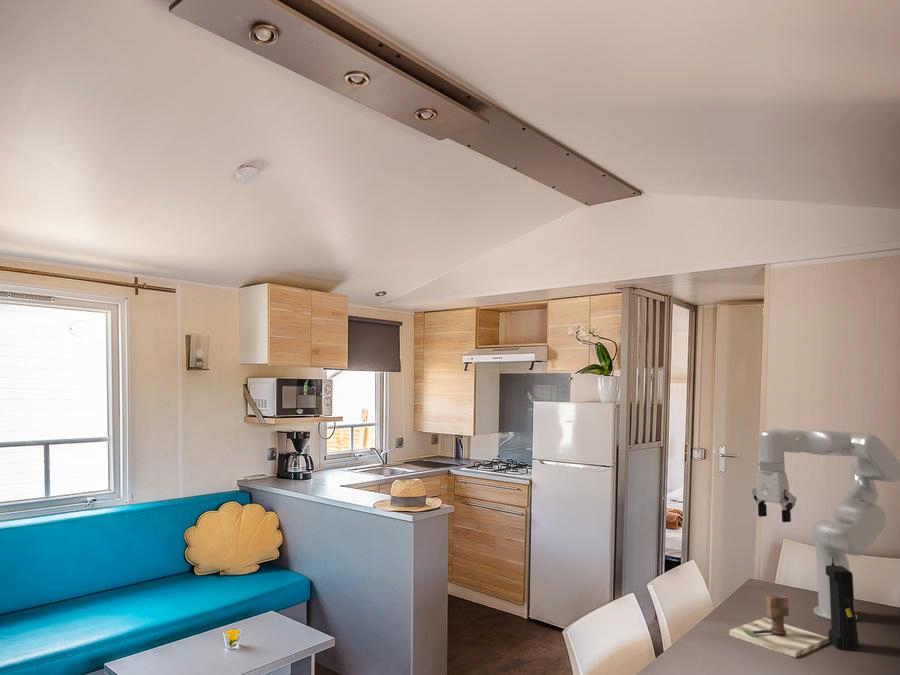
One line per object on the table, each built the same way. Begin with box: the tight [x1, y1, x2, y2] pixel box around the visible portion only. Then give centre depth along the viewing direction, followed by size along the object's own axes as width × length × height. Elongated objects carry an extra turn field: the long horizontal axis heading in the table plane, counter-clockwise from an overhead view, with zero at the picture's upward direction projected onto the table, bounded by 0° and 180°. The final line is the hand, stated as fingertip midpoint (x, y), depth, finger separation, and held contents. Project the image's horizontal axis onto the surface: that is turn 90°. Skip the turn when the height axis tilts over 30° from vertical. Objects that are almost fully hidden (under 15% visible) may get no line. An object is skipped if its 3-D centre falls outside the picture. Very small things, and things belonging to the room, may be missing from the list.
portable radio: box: [826, 559, 860, 652], centre depth 185 cm, size 8×6×25 cm
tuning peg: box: [753, 595, 790, 635], centre depth 190 cm, size 12×4×11 cm, turn 99°
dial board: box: [729, 617, 830, 658], centre depth 190 cm, size 20×20×2 cm
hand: (774, 519), depth 208 cm, fingers open, 9 cm apart
